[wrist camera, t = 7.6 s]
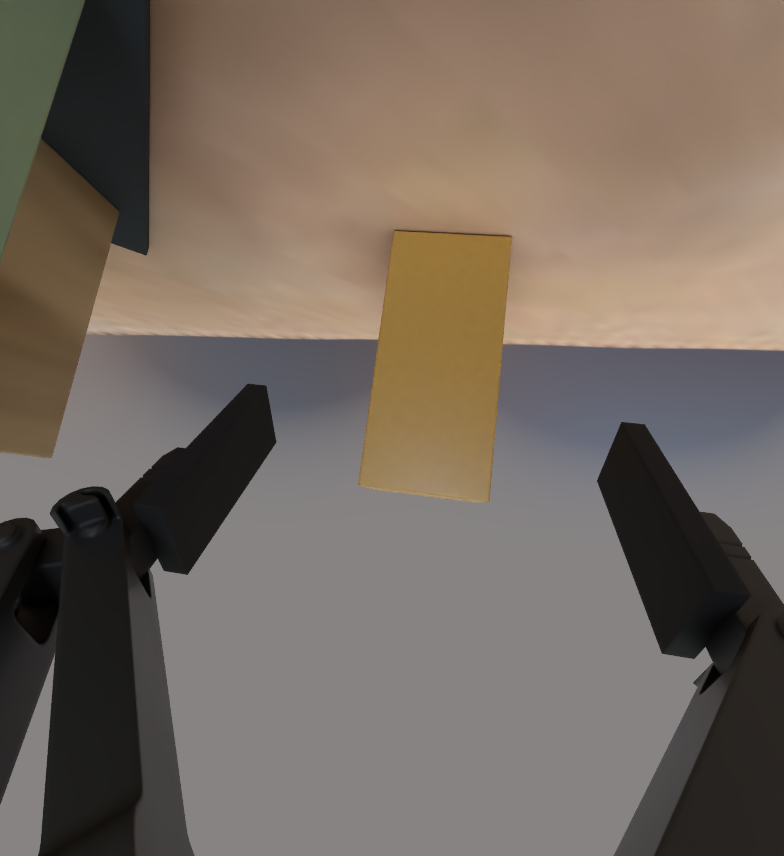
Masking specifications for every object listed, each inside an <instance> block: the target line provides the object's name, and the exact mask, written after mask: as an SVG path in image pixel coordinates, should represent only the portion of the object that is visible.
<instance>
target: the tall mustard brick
mask: <svg viewBox="0 0 784 856" xmlns="http://www.w3.org/2000/svg"><path fill="white" fill-rule="evenodd" d="M511 241H512V238H511V237H503V236H483V235H464V234H445V233H425V232H406V231H394V233H393V240H392V248H391V255H390V262H389V269H388V276H387V283H386V290H385V297H384V304H383V311H382V318H381V326H380V333H379V340H378V347H377V354H376V361H375V368H374V375H373V383H372V390H371V397H370V404H369V411H368V418H367V425H366V432H365V440H364V447H363V453H362V461H361V467H360V475H359V482H358V485H359V486H363V487H367V488H371V489H375V490H382V491H389V492H397V493H405V494H412V495H421V496H428V497H437V498H444V499H451V500H460V501H468V502H489V499H490V487H491V476H492V463H493V451H494V440H495V429H496V417H497V405H498V393H499V382H500V370H501V358H502V346H503V335H504V323H505V311H506V299H507V288H508V276H509V264H510V252H511Z"/></svg>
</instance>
